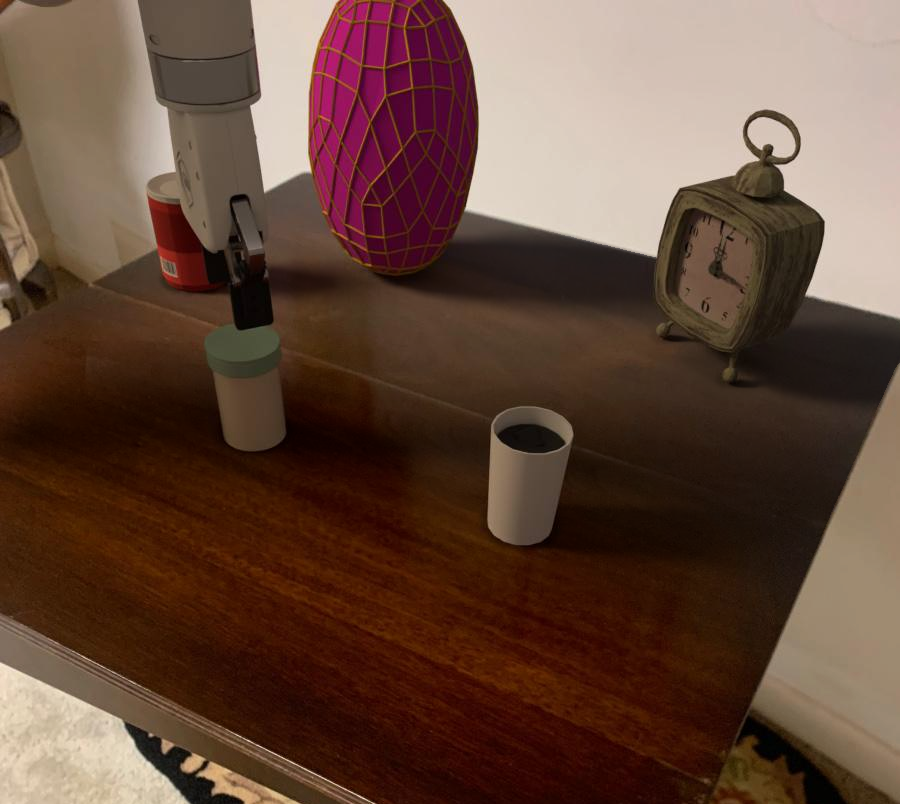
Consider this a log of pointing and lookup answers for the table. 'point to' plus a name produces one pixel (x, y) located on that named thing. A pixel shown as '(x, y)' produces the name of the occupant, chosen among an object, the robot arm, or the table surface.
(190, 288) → the canned food
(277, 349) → the lid
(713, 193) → the tabletop clock
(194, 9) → the robot arm
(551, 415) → the white cup
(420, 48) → the decorative egg
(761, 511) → the table surface
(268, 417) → the jar
